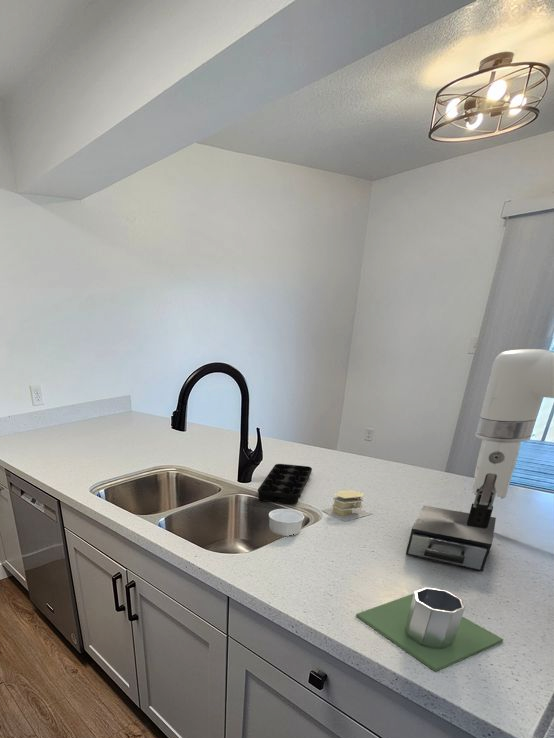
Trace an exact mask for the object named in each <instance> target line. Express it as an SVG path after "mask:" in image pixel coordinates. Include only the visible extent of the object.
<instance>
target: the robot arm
mask: <svg viewBox="0 0 554 738" xmlns="http://www.w3.org/2000/svg"><path fill="white" fill-rule="evenodd" d="M543 398H549V399H554V352H552V351H551V350H548V349H541V348H522V349H521V348H520V349H510V350H505V351H502V352H500V353H499V354H498V355H496V357H495V358H494V360H493V363H492V367H491V370H490V374H489V379H488V382H487V386H486V390H485V394H484V399H483V402H482V406H481V411H480V415H479V417H478V422H477V425H476V430H475V435H474V436H475V437H476V438H477V439H480V440H481V444H480V448H479V452H478V456H477V460H476V465H475V470H474V477H473V482H472V483H473V484H472V491H471V492H472V494H473V495H474V496H475V498H474V501H473V503H471V505H470V510H469V512H468V513H469V517H468V521H467V526H471V527H478V528H484V529H486V528H487V527H488V524H489V521H490V517H492V514H493V510H494V506H493V505H494V501H495V498H500V499H505V498H507V495H508V492H509V488H510V484H511V481H512V477H513V473H514V471H515V467H516V463H517V460H518V456H519V452H520V448H521V442H526V441H529V440H530V439H531V436H532V433H533V429H534V426H535V424H536V420H537V417H538V414H539V410H540V407H541V404H542V401H543Z"/></svg>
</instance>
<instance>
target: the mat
mask: <svg viewBox="0 0 554 738" xmlns="http://www.w3.org/2000/svg"><path fill="white" fill-rule="evenodd" d="M413 595H414V593H411V594H407V595H405V596H402V597H400V598H397V599H394V600H391V601H389V602H386V603H383V604H381V605H377V606H375V607H372V608H369V609H366V610H364V611H360V612H358V613H356V614H355V617H356V618H358V619H359V620H360V621H362V622H363V623H365V625H368V626H369V627H370V628H372V629H373V630H374V631H376V632H377V633H379V634H381V635H382V636H383V637H385V638H386V639H388V641H390V642H392V643H393V644H395V645H396V646H397V647H399V648H401V649H402V650H403V651H405V653H408V654H409V655H410V656H411V657H413V658H415V659H416V660H418V661H419V662H420V663H422V664H423V665H425V666H426V667H428V668H429V669H430V670H431V671H433V672H434V673H435V672H438V671H440V670H442V669H445V668H447V667H449V666H451V665H453V664H456V663H458V662H460V661H463V660H465V659H467V658H469V657H471V656H474V655H477V654H478V653H482V652H483V651H485V650H487V649H489V648H492V647H494V646H496V645H499V644H501V643H503V642H504V638H502V637H500V636H499V635H497V634H495V633H493V632H491V631H490V630H488V629H486V628H484V627H482V626H480V625H479V624H477V623H475V622H473V621H472V620H470V619H468V618H466V617H465V616H462V619H461V622H460V625H459V628H458V631H457V634H456V637H455V640H454V642H453V643H452V644H450V645H449V646H447V647H445V648H430V647H426V646H423V645H421V644H419V643H417V642H415V641H413V640H412V639H411V638H410V637H409V636H408V634H407V632H406V621H407V618H408V614H409V610H410V606H411V603H412V599H413Z"/></svg>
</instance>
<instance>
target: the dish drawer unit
mask: <svg viewBox="0 0 554 738" xmlns="http://www.w3.org/2000/svg"><path fill="white" fill-rule="evenodd" d="M469 513H470V512H465V511H458V510H452V509H447V508H441V507H434V506H428V505H422V508H421V510H420V512H419V513H418V515H417V517H416V520H415V522H414V523H413V525H412V527H411V531H410V534H409V538H408V542H407V546H406V551H405V555H407V556H412V557H415V558H420V559H424V560H428V561H429V560H430V561H434V562H439V563H442V564H447V565H452V566H456V567H461V568H464V569H470V570H474V571H479V572H482V573H483V572H484V569H485V566H486V563H487V560H488V559H489V554H490V551H491V548H492V546H493V542H494V541H493V540H494V534H495V526H496V520H497V517H494V516H491V517H490V521H489V524H488V527H487V528H486V529H484V528H478V527H471V526H467V521H468V517H469ZM414 533H416V534H418V533H419V534H425V535H430V536H435V537H440V538H445V539H450V540H455V541H460V542H465V543H470V544H475V545H480V546H483V547H487V551H486V554H485V557H484V559H483V562H482V565H481V568H480V570H479V569H475V568H470V567H466V566H461V565H457V564H452V563H448V562H443V561H439V560H434V559H430V558H426V557H421V556H417V555H412V554H408V553H409V549H410V545H411V541H412V537H413V534H414Z"/></svg>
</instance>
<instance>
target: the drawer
mask: <svg viewBox="0 0 554 738" xmlns="http://www.w3.org/2000/svg"><path fill="white" fill-rule="evenodd" d="M486 551H487V547H483V546H480V545H475V544H470V543H465V542H460V541H455V540H450V539H445V538H440V537H435V536H430V535H425V534H419V533H418V534H416V533H414V534H413V537H412V541H411V545H410V549H409V553H408V554H412V555H417V556H421V557H426V558H430V559H434V560H439V561H443V562H448V563H452V564H457V565H461V566H466V567H470V568H475V569H479V570H480V568H481V565H482V562H483V559H484V557H485V554H486Z"/></svg>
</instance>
